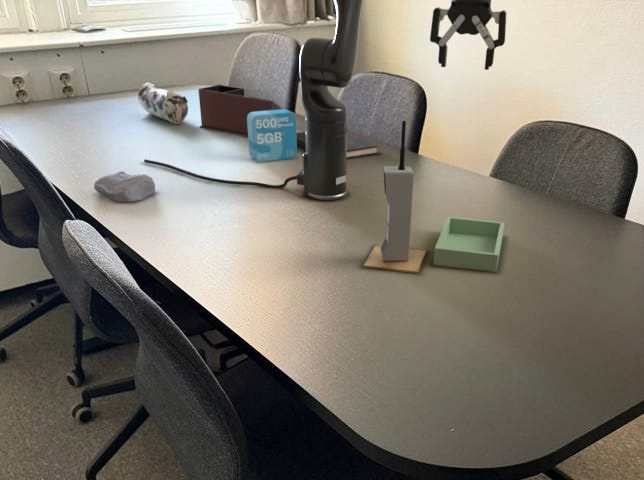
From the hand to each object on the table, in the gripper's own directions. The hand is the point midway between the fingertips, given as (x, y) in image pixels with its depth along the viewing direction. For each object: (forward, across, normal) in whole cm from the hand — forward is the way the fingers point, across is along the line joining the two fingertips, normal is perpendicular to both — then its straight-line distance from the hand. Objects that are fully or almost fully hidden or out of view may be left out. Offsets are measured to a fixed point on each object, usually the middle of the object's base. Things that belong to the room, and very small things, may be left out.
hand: (464, 67), depth 139 cm
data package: (+30, +52, -30) cm, 67 cm away
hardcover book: (+30, +40, -45) cm, 67 cm away
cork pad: (+30, +7, +28) cm, 42 cm away
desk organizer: (+30, +69, -55) cm, 94 cm away
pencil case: (+30, +101, -64) cm, 123 cm away
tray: (+30, -6, +20) cm, 36 cm away
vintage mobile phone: (+30, +7, +28) cm, 42 cm away
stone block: (+30, +74, +9) cm, 80 cm away
